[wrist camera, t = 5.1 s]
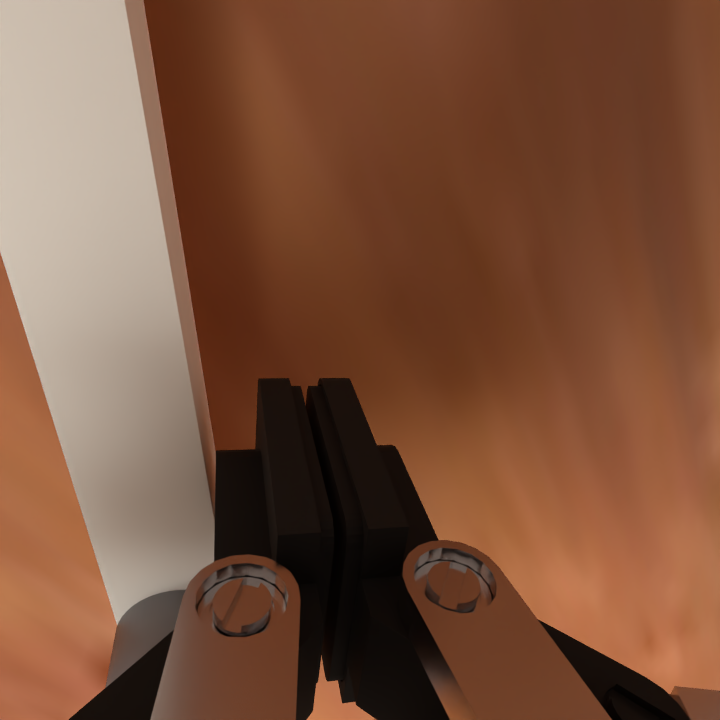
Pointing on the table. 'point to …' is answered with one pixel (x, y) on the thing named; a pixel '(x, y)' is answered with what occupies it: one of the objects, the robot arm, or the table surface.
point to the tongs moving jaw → (108, 298)
